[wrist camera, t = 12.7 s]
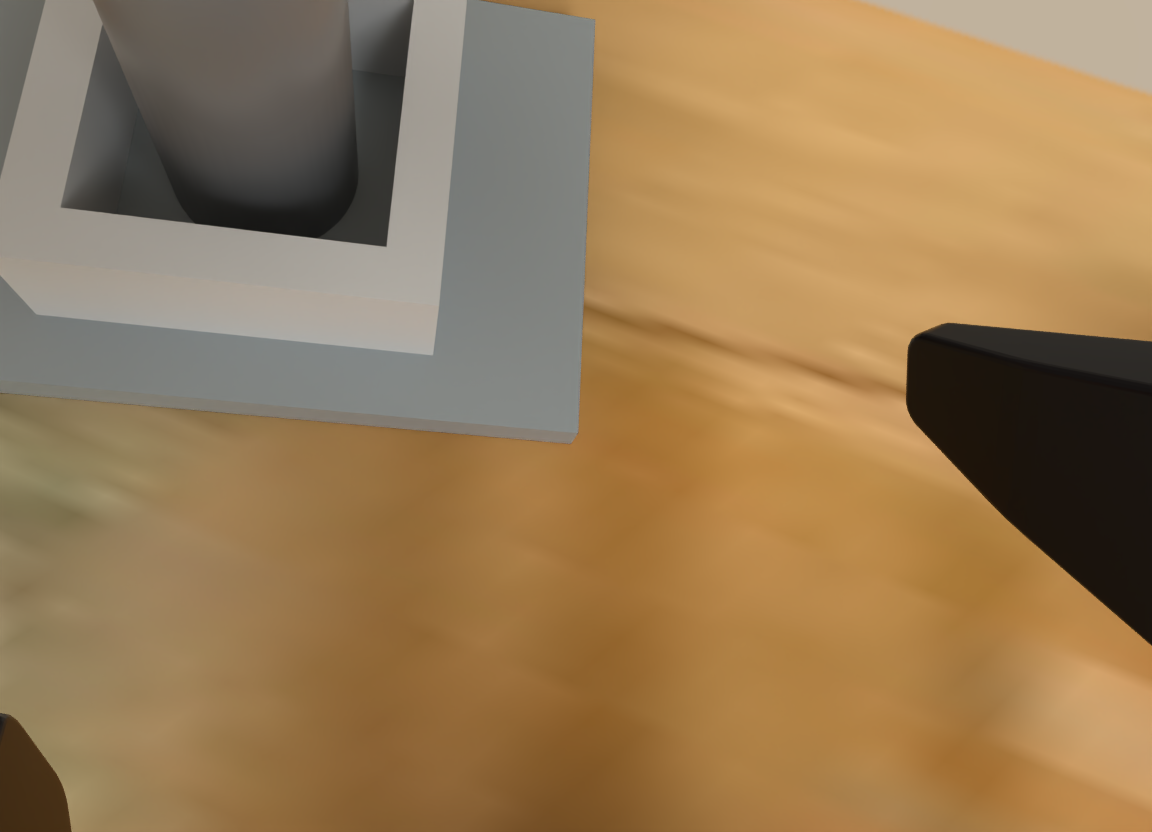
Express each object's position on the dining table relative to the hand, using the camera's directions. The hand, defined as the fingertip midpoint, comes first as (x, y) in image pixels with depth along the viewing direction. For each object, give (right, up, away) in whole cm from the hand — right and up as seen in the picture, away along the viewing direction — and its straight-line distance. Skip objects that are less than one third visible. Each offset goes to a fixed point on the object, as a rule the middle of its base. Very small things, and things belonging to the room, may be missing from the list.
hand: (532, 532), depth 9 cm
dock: (-7, +7, +15) cm, 18 cm away
